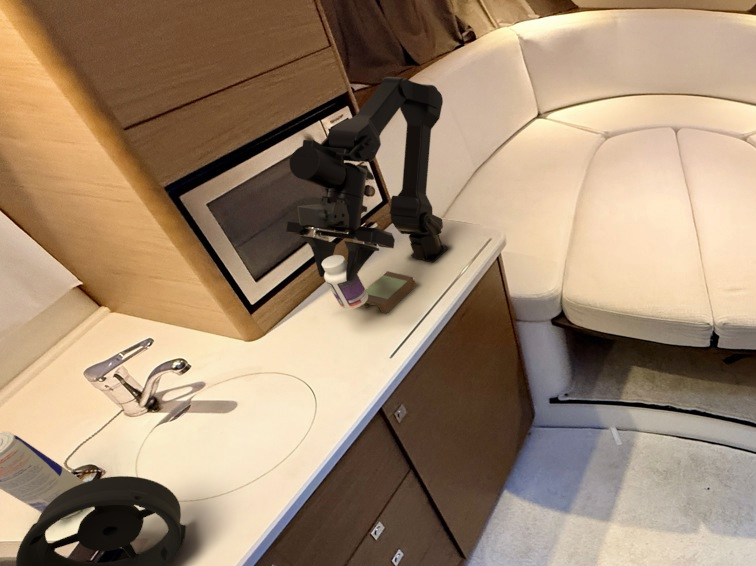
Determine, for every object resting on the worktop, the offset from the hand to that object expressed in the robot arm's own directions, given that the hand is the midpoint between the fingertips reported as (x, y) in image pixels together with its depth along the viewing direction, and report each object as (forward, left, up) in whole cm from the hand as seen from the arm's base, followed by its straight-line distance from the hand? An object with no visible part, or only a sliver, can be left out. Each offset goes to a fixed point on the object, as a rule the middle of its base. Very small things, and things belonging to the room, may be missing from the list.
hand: (335, 278), depth 96 cm
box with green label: (-11, -2, -13) cm, 17 cm away
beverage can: (+46, -15, -13) cm, 50 cm away
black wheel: (+45, -1, -8) cm, 46 cm away
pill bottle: (-1, 0, -7) cm, 7 cm away
